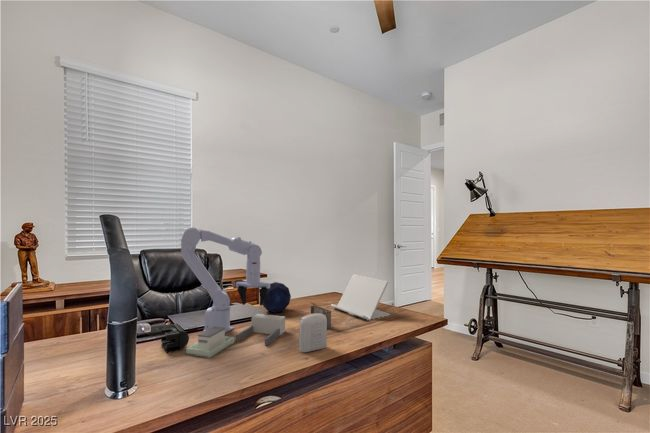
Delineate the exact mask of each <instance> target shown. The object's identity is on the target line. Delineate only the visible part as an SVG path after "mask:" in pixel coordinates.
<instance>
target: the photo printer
mask: <svg viewBox="0 0 650 433" xmlns="http://www.w3.org/2000/svg"><path fill="white" fill-rule="evenodd" d="M327 330H328V329H327V318H326V316H325V315H323V314H319V313H314V314H311V313H310V314H306V315H304V316H302V317H301V318H300V319H299V332H298V333H299V338H298V342H299V343H298V348H299V352H301V353H309V352H312V351H314V352H315V351H318V350H323V349H326V348H327V339H328V338H327V336H328V335H327V333H328V331H327Z"/></svg>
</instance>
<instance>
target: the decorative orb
mask: <svg viewBox="0 0 650 433" xmlns="http://www.w3.org/2000/svg"><path fill="white" fill-rule="evenodd" d="M291 298H292V296H291V292H290V288H289V287H287V286H286V285H285V284H284V283H281V282H276V281H274V282H272V283H271V282H270V288H269V289H268V291H267V293H266V295H265V298H264V302H263V305H262V307H263V308H264V309H265V310H267V311H268V312H270V313H271V312H272V313H275V314H277V313H280V312H283V311H285V310H286V308H288V306H289V304H290V301H291Z"/></svg>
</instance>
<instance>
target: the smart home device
mask: <svg viewBox="0 0 650 433" xmlns="http://www.w3.org/2000/svg"><path fill="white" fill-rule="evenodd" d="M173 324H174V323H171V324H169V323H168V324H162V325H155V326H154V325H153V326H150V327H151V332H150V333H148V334H147V335H153V336H160V335H165V333H161V329H162V328H167V327H173ZM159 334H160V335H159ZM138 335H139V334H138V333H137V336H138Z"/></svg>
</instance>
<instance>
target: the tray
mask: <svg viewBox="0 0 650 433" xmlns="http://www.w3.org/2000/svg"><path fill="white" fill-rule="evenodd" d="M234 343H235V337H234V336H227V335H225V342H224V343H223V344H221V345H219V346H218V347H216V348H214V349H213V350H211V351H207V350H200V349H198V341H196V342H195V343H193V344H192V345H189V346H188V347H186V348H185V350H186V351H185V355H190V356H196V357H202V358H208V359H211V358H212V357H214V356H216V355H217V354H219V353H221V352H222V351H224V350H225V349H227V348H228V347H230V346H231V345H233V344H234Z"/></svg>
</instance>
